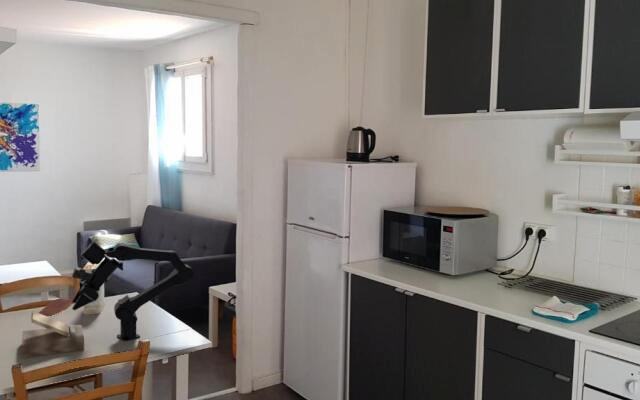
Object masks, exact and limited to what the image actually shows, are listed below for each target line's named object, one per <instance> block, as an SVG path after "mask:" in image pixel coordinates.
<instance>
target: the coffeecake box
mask: <svg viewBox="0 0 640 400" xmlns="http://www.w3.org/2000/svg"><path fill="white" fill-rule="evenodd" d="M101 262H102V261H101ZM101 262H100V263H101ZM100 263H99V264H100ZM99 264H94V265H93V264H91V263H90V262H89V261H87V262H86V264H85V266H84V267H83V269H86V270H89V271H92V270H93V269H96V268H97V267H98V266H99ZM98 293H99V298H98V299H97V300H96V301H94V302H91V303H89V304H87V305H84V306H83V315H95V314H96V315H97V314H99V315H100V314H101V313H102V310H103V308H104V306H105V283H104V284H103V285H102V286H101V287H100V290H99V291H98Z"/></svg>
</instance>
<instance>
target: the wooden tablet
mask: <svg viewBox="0 0 640 400" xmlns="http://www.w3.org/2000/svg"><path fill="white" fill-rule="evenodd" d="M73 299H74V298H70V299H65V298H55V300H53V301H51V302H50V303H48V304H47V305H46V306H45V307H43V308H42V309H41V310H39V311H38V313H39V314H42V315H44V316H52V315H55V314H57V313H59V312H61V311H63V310H64V311H65V310H66V309H68V308H69V307H70V306H72V305H74V303H73V302H72V301H73ZM71 304H72V305H71ZM64 311H63V312H64ZM61 313H62V312H61Z"/></svg>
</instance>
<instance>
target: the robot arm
mask: <svg viewBox="0 0 640 400" xmlns="http://www.w3.org/2000/svg"><path fill="white" fill-rule="evenodd" d="M80 257H82V258H83V259H84V260H86V261H87V262H90V263H91V264H93V265H94V264H99V263H100V262H101V263H100V264H99V266H98V267H97V268H96V269H93V270H92V271H89V270H86V269H84V268H82V267H79V266H75V267H74V269H73V272H72V274H71V276H72V278H74V279H78V280H79V284H78V285H79V288H78V291H77V292H76V294H75V296H74V297H73V298H72V299H73V301H72V302H73V306H72V310H73V311H76V310H78V309H81V308H83V307H84V305H87V304H89V303H91V302H94V301H96V300H97V299H98V298H99V293H98V291H99V290H100V287H101V286H102V285H103V284H104V285H105V283H107V282H108V281H109V278H110V277H111V276H112V275H113V274H114V272H116V271H117V269H119V270H120V271H124V263H123V262H125V261H134V260H150V261H160V262H169V263H170V264H171V265H172V266H173V267H174V269H173V270H172V272H170V273H169V275H168V276H166V277H164V278H163V279H162V280H160V281H158V282H157V283H155V284H153V285H151V286H150V287H148V288H146V289H144V290H143V291H141V292H140V293H138V294H136V295H134V296H131V297H130V296H129V294H125V296H124V297H122V298H120V299H117V302H116V303H115V304H114V307H113V311H114V315H115V318H116V319H118V320H119V321H120V322H119V324H120V327H119V328H120V329H119V330H120V334H116V337H117V338H118V339H120V340H121V341H123V342H124V341H129V340H133V339H138V338H141V335H139V334H138V333H137V322H138V316H137V314H136V312H137V311H139V309H140V307H142V306H144V305H145V304H148V302H150V301H152V300H153V299H156V298H157V297H159V296H160V295H161V294H164V293H165V292H167V291H168V290H169V289H171V288H174V287H175V286H179V285H184V284H186V283H188V282H190V281H192V280H193V279H194V275H195V273H194V272H195V271H194V269H193V268H192V267H191V266H190V265H188V264H186V263H184V262H183V260H182V259H181V258H180V257H179V256H178V253H177V252H176V251H174V250H173V249H171V250H164V249H154V248H145V247H144V248H143V247H137V246H134V245H132V244H127V243H123V242H117V244H115V245H114V246H113V247H108V248H103V247H102V246H100V245H99V244H98V242H96V241H92V243H90V244H89V245H88V246H85V248H84V249H83V250H82V252H81V253H80Z"/></svg>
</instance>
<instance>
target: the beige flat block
mask: <svg viewBox="0 0 640 400" xmlns="http://www.w3.org/2000/svg"><path fill="white" fill-rule="evenodd" d="M82 327H83V326H82V324H77V325H75V324H74V323H72V324H68V328H69V335H68V336H65V335H63V334H60V333H57V332H55V331H52V330H50V329H47V328H40V329H39V328H38V329H31V330H30V329H29V330H23V331H22V332H21V333H22V334H21V359H23V358H29V357H30V358H31V357H39V356H47V355H53V354H61V353H69V352H70V351H71V352H77V350H78V351H84V350H85V336H84V331H83V328H82ZM71 352H70V353H71Z"/></svg>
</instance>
